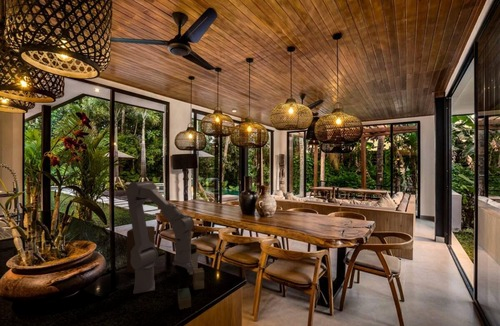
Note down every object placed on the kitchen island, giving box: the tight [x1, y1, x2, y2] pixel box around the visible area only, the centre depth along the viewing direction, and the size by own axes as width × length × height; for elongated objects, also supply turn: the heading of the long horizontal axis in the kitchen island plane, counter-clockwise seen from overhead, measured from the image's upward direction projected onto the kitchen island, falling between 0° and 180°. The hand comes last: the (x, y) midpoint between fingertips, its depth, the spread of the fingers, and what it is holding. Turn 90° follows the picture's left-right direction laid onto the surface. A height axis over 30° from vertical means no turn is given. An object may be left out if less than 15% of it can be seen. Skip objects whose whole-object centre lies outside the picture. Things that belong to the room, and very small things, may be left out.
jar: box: [189, 243, 199, 276], centre depth 121 cm, size 9×8×12 cm
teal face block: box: [177, 287, 192, 310], centre depth 93 cm, size 4×4×7 cm
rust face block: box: [192, 267, 205, 291], centre depth 106 cm, size 4×4×7 cm
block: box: [126, 225, 156, 274], centre depth 123 cm, size 10×10×20 cm
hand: (183, 284), depth 97 cm, fingers closed
